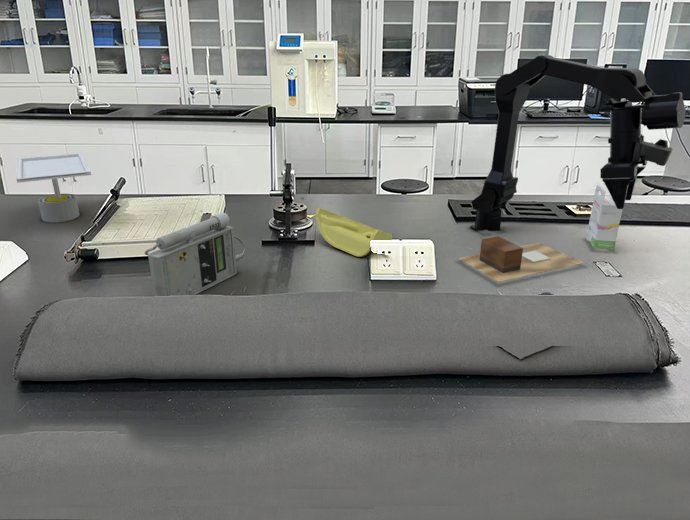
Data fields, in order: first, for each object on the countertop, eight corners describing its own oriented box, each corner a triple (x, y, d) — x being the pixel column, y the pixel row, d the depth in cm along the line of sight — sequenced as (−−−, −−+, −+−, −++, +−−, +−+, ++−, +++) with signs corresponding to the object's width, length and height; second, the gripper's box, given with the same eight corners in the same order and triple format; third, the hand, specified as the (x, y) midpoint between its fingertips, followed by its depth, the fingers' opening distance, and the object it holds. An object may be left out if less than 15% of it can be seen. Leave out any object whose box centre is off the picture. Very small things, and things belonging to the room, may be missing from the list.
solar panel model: (100, 225, 145) (90, 171, 139) (28, 235, 137) (15, 179, 132) (91, 200, 167) (82, 152, 162) (29, 207, 160) (17, 158, 154)
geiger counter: (159, 242, 94) (252, 207, 114) (135, 235, 97) (230, 202, 117) (168, 311, 100) (256, 266, 119) (146, 303, 103) (235, 260, 122)
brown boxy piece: (479, 260, 120) (481, 239, 118) (496, 256, 122) (498, 236, 120) (502, 273, 114) (505, 251, 112) (520, 269, 115) (523, 248, 114)
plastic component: (396, 236, 130) (374, 229, 122) (385, 265, 131) (363, 259, 123) (337, 214, 142) (313, 206, 134) (327, 240, 142) (304, 233, 134)
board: (457, 261, 122) (458, 257, 121) (538, 246, 131) (539, 242, 131) (497, 285, 110) (498, 281, 110) (583, 266, 119) (584, 262, 119)
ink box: (614, 252, 127) (627, 192, 121) (592, 251, 128) (604, 191, 122) (606, 240, 135) (617, 183, 129) (585, 239, 136) (595, 182, 130)
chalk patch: (518, 255, 123) (518, 253, 123) (534, 252, 125) (535, 250, 125) (533, 263, 119) (533, 261, 118) (550, 259, 121) (550, 257, 120)
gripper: (664, 133, 100) (661, 214, 104) (675, 123, 114) (672, 195, 118) (599, 137, 106) (599, 213, 110) (617, 128, 121) (616, 196, 125)
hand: (624, 204), depth 116 cm, fingers open, 9 cm apart
